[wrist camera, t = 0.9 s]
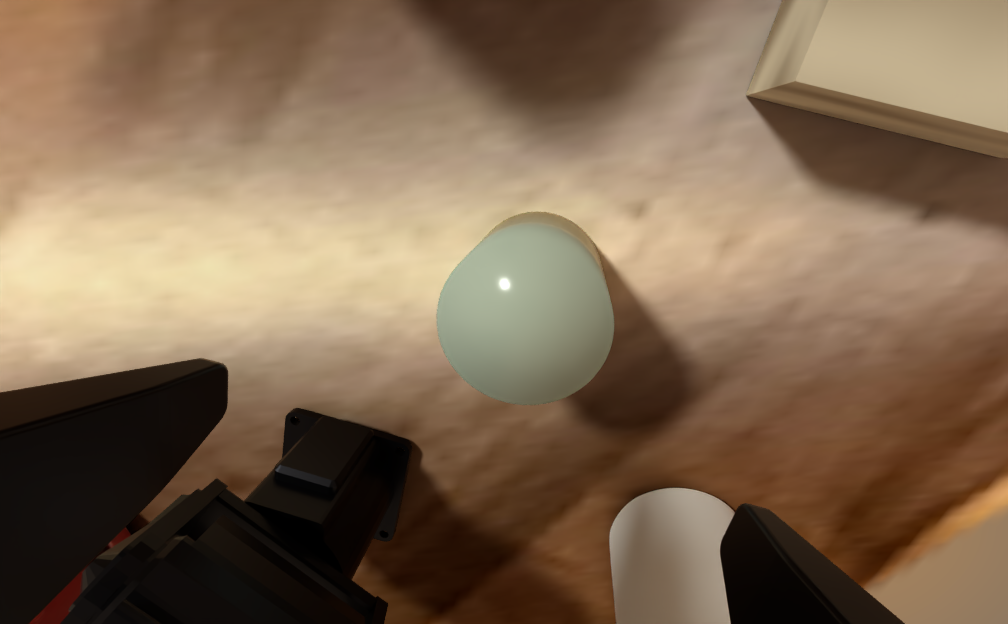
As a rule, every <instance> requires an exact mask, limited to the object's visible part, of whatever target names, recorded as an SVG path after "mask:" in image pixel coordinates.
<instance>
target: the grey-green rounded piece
mask: <svg viewBox="0 0 1008 624" xmlns="http://www.w3.org/2000/svg"><path fill="white" fill-rule="evenodd" d="M437 329H438V336H439V339H440V343H441V346H442V348H443V351H444V353H445V355H446V357H447V359H448V360H449V362H450V364H451V365H452V367H453V368H454V369H455V370H456V372H457V373H458V374H459V375H460V376H461V377H462V378H463V379H464V380H465V381H466V382H467V383H468V384H470V385H471V386H472V387H473V388H475V389H477V390H478V391H480V392H481V393H483V394H485V395H487V396H489V397H491V398H494V399H497V400H500V401H503V402H507V403H512V404H519V405H539V404H546V403H550V402H554V401H558V400H560V399H563V398H565V397H568V396H569V395H571V394H573V393H575V392H577V391H578V390H580V389H581V388H582V387H584V386H585V385H586V384H587V383H588V382H589V381H591V380H592V379H593V378H594V376H595V375H596V374H597V373H598V371H599V370H600V369H601V367H602V365H603V364H604V362H605V361H606V358H607V356H608V354H609V351H610V348H611V345H612V341H613V334H614V315H613V308H612V304H611V300H610V296H609V292H608V288H607V284H606V280H605V276H604V272H603V268H602V264H601V260H600V257H599V254H598V251H597V249H596V247H595V245H594V243H593V242H592V240H591V239H590V237H589V236H588V235H587V234H586V233H585V232H584V231H583V230H582V229H581V228H580V227H579V226H578V225H576V224H575V223H573V222H572V221H570V220H568V219H566V218H564V217H562V216H559V215H556V214H552V213H547V212H527V213H522V214H518V215H516V216H513V217H510V218H508V219H506V220H504V221H503V222H501V223H500V224H498V225H497V226H496V227H495V228H494V229H493V230H491V231H490V232H489V233H488V234H487V236H486V237H485V238H484V239H483V240H482V241H481V242H480V243H479V244H478V245H477V246H476V247H475V248H474V249H473V250H472V251H471V252H470V253H469V254H468V255H467V256H466V257H465V258H464V259H463V260H462V261H461V262H460V263H459V264H458V266H457V267H456V268H455V269H454V270H453V272H452V273H451V274H450V276H449V278H448V279H447V281H446V283H445V285H444V287H443V289H442V292H441V295H440V298H439V302H438V308H437Z"/></svg>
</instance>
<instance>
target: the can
mask: <svg viewBox="0 0 1008 624" xmlns="http://www.w3.org/2000/svg"><path fill="white" fill-rule="evenodd" d="M734 514H735V512H734V511H733V510H732V509H731V508H730V507H729V506H728V505H727V504H725V503H724V502H722V501H721V500H719V499H718V498H716V497H714V496H712V495H709V494H707V493H704V492H701V491H697V490H692V489H687V488H663V489H658V490H654V491H650V492H647V493H645V494H642V495H640V496H638V497H636V498H635V499H633V500H632V501H630V502H629V503H628V504H627V505H626V506H625V507H624V508H623V509H622V510H621V511H620V512H619V514H618V515H617V517H616V518H615V520H614V522H613V524H612V527H611V530H610V538H609V543H610V558H611V570H612V581H613V593H614V604H615V615H616V624H731V622H730V616H729V609H728V603H727V597H726V590H725V584H724V577H723V571H722V564H721V558H720V545H721V541H722V538H723V536H724V534H725V532H726V530H727V528H728V526H729V524H730V522H731V520H732V518H733V516H734Z"/></svg>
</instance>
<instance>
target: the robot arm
mask: <svg viewBox="0 0 1008 624" xmlns="http://www.w3.org/2000/svg"><path fill="white" fill-rule="evenodd" d="M227 403H228V370H227V367H226V366H225V365H224V364H223V363H219V362H215V361H212V360H208V359H204V358H199V359H193V360H187V361H181V362H175V363H169V364H164V365H158V366H152V367H146V368H140V369H134V370H129V371H123V372H117V373H111V374H105V375H100V376H94V377H88V378H82V379H76V380H70V381H65V382H59V383H53V384H47V385H41V386H35V387H30V388H24V389H18V390H12V391H6V392H0V624H29V623H30V622H31V621H32V620H33V619H34V618H35V617H36V616H37V615H38V614H39V613H40V612H41V611H42V610H43V609H44V608H45V607H46V606H47V605H48V604H49V603H50V602H51V601H52V600H53V599H54V598H55V597H56V596H57V595H58V594H59V593H60V592H61V591H62V590H63V589H64V588H65V587H66V586H67V585H68V584H69V583H70V582H71V581H72V580H73V579H74V578H75V577H76V576H77V575H78V574H79V573H80V572H81V571H82V570H83V569H84V568H85V567H86V566H87V565H88V564H89V563H90V562H91V561H92V560H93V559H94V558H95V557H96V556H97V555H98V554H99V553H100V552H101V551H102V550H103V549H104V548H105V547H106V546H107V545H108V544H109V543H110V542H111V541H112V540H113V539H114V538H115V537H116V536H117V535H118V534H119V533H120V532H121V531H122V530H123V529H124V528H125V527H126V526H127V525H128V524H129V523H130V522H131V521H132V520H133V519H134V518H135V517H136V516H137V515H138V514H139V513H140V512H141V511H142V510H143V509H144V508H145V507H146V506H147V505H148V504H149V503H150V502H151V501H152V500H153V499H154V498H155V497H156V496H157V495H158V494H159V493H160V492H161V491H162V490H163V488H164V487H165V486H166V485H167V484H168V483H169V482H170V480H171V479H172V478H173V477H174V476H175V475H176V473H177V472H178V471H179V470H180V469H181V467H182V466H183V465H184V464H185V463H186V461H187V460H188V459H189V458H190V457H191V455H192V454H193V453H194V452H195V450H196V449H197V448H198V447H199V446H200V444H201V443H202V442H203V441H204V440H205V438H206V437H207V436H208V435H209V434H210V432H211V431H212V430H213V429H214V428H215V426H216V425H217V424H218V423H219V422H220V420H221V419H222V418H223V416H224V414H225V412H226V409H227ZM295 417H297V418H298V419H299V420H300V421H298V420H296V418H295ZM398 447H401V448H403V449H404V450H405V451H401V450H399V448H398ZM411 452H412V445H411V443H410V442H409V441H408V440H406V439H404V438H400V437H397V436H394V435H390V434H387V433H383V432H380V431H376V430H373V429H369V428H366V427H363V426H359V425H356V424H352V423H349V422H345V421H342V420H338V419H335V418H332V417H328V416H324V415H321V414H318V413H314V412H311V411H307V410H304V409H300V408H295V409H293V410H292V411H291V412H289V413H288V414H287V415H286V419H285V431H284V443H283V455H282V459H281V460H280V461H279V462H278V463H277V464H276V465H275V468H274V469H273V470H272V471H271V472H270V473H269V474H268V476H267V477H266V478H265V479H264V480H263V481H262V482H261V483H260V484H259V485H258V486H257V487H256V489H255V490H254V491H253V492H252V493H251V494H250V495H249V496H248V497H247V498H246V499H245V500H244V501H243V500H241V499H240V498H239V497H237V496H236V495H235V494H233V493H232V492H231V491H229V490H228V489H226V488H227V487H228V486H227V485H226V484H224V483H223V482H221V481H220V480H219V479H215V480H214V481H213V482H212V483H210V484H209V485H208V486H207V487H206V488H204V489H203V490H202V491H201V490H200V489H197V490H195V491H194V492H193V493H192V494H190V495H181V496H180V497H179V498H178V499H176V500H175V501H174V502H173V503H172V504H171V505H170V506H169V507H167V508H166V509H165V510H164V511H163V512H162V513H161V514H160V515H158V516H157V517H156V518H155V519H154V520H153V521H151V522H150V523H149V524H148V525H146V526H145V527H143V528H142V529H140V530H139V531H137V532H136V533H134V534H132V535H131V536H129V537H128V538H126V539H124V540H123V541H121V542H120V543H118V544H116V545H115V546H113V547H112V548H110V549H108V550H107V551H105V552H104V553H102V554H101V555H99V556H98V557H97V558H95V559H94V560H93V561H92V562H91V563H90V564H89V565H88V566H87V567H86V568H85V569H84V571H83V572H82V578H81V587H80V595H79V596H78V598H77V599H76V600H75V601H74V602H73V604H72V605H71V606H70V608H69V609H68V612H69V614H68V615H67V616H66V617H65V618H64V619H63V621H62V622H61V623H60V624H384V621H385V616H386V612H387V607H388V603H387V602H385V601H384V600H382V599H381V598H380V597H378V596H377V597H374V596H373V595H371V594H370V593H368V592H367V591H366V590H364V589H363V588H362V587H360V586H359V585H358V584H356V583H355V582H353V581H352V578H353V576H354V574H355V572H356V570H357V568H358V566H359V564H360V562H361V560H362V558H363V557H364V555H365V553H366V551H367V549H368V547H369V545H370V543H371V541H372V539H373V538H374V539H377V540H381V541H390V540H391V539H392V538H393V535H394V533H395V531H396V526H397V521H398V516H399V511H400V506H401V502H402V497H403V492H404V487H405V482H406V477H407V472H408V467H409V462H410V457H411ZM385 531H386V532H385ZM720 558H721V564H722V571H723V577H724V584H725V590H726V597H727V603H728V609H729V616H730V622H731V624H905V623H903V622H902V621H901V620H900V619H899V618H897V617H896V616H895V615H894V614H893V613H892V612H890V611H889V610H888V609H887V608H886V607H884V606H883V605H882V604H881V603H880V602H878V601H877V600H876V599H875V598H874V597H873V596H871V595H870V594H869V593H868V592H867V591H865V590H864V589H863V588H862V587H861V586H860V585H858V584H857V583H856V582H855V581H854V580H852V579H851V578H850V577H849V576H848V575H846V574H845V573H844V572H843V571H842V570H841V569H839V568H838V567H837V566H836V565H835V564H833V563H832V562H831V561H830V560H829V559H827V558H826V557H825V556H824V555H823V554H822V553H820V552H819V551H818V550H817V549H816V548H814V547H813V546H812V545H811V544H810V543H808V542H807V541H806V540H805V539H804V538H803V537H801V536H800V535H799V534H798V533H797V532H795V531H794V530H793V529H792V528H791V527H789V526H788V525H787V524H786V523H785V522H784V521H782V520H781V519H780V518H779V517H778V516H776V515H775V514H774V513H773V512H772V511H770V510H768V509H766V508H763V507H759V506H755V505H751V504H747V503H744V504H741V505H740V506H739V507H738V508H737V510H736V512H735V514H734V516H733V518H732V520H731V522H730V524H729V526H728V528H727V530H726V532H725V534H724V536H723V538H722V541H721V545H720Z"/></svg>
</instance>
